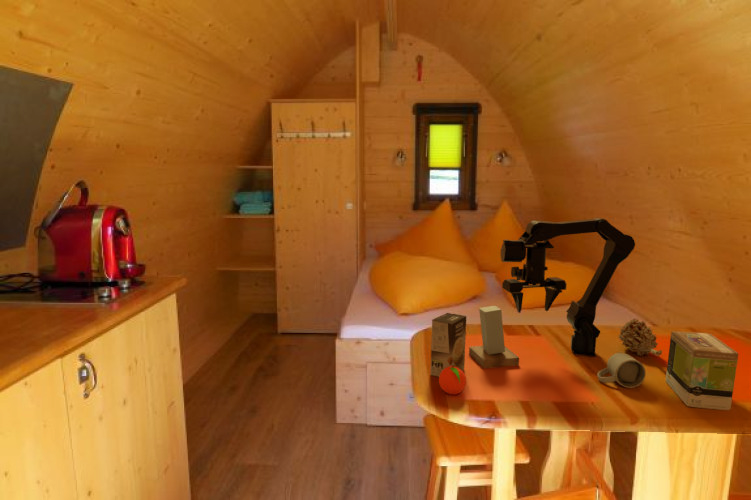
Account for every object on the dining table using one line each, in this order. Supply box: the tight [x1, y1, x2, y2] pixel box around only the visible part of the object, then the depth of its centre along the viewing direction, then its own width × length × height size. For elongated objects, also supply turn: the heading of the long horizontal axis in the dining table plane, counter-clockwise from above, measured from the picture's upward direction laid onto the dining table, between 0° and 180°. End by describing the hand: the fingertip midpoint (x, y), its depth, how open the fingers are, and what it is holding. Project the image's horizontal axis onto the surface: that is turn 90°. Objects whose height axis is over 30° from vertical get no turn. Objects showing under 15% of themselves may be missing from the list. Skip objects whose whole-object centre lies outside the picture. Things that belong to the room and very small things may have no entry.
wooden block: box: [478, 305, 506, 355], centre depth 149 cm, size 5×5×13 cm
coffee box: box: [430, 312, 467, 378], centre depth 140 cm, size 9×6×16 cm
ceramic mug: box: [597, 352, 647, 389], centre depth 135 cm, size 11×8×8 cm
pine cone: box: [618, 318, 663, 357], centre depth 152 cm, size 22×10×10 cm, turn 2°
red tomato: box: [438, 366, 467, 395], centre depth 128 cm, size 8×7×7 cm
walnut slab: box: [468, 345, 520, 369], centre depth 151 cm, size 11×11×3 cm
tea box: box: [665, 330, 739, 411], centre depth 126 cm, size 15×10×15 cm, turn 168°
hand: (532, 311), depth 155 cm, fingers open, 9 cm apart
